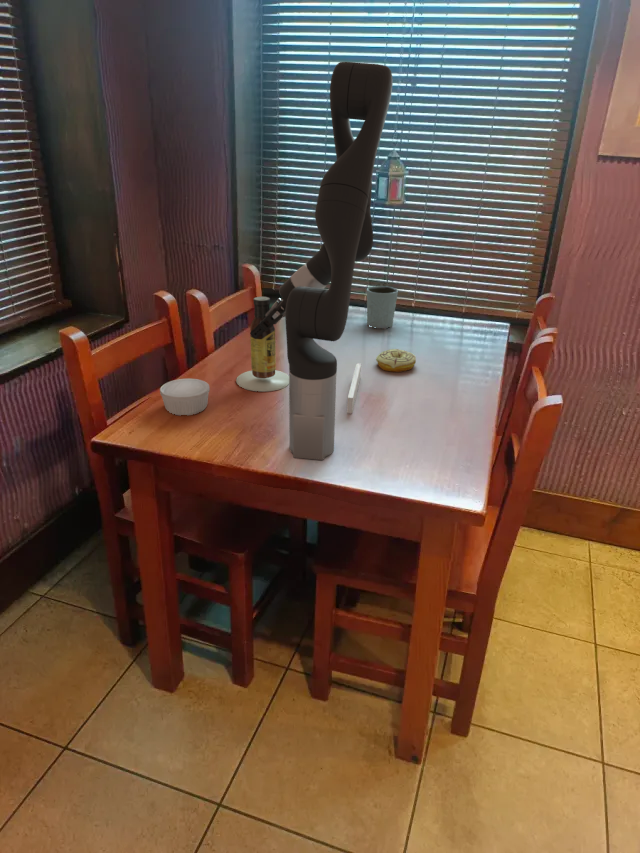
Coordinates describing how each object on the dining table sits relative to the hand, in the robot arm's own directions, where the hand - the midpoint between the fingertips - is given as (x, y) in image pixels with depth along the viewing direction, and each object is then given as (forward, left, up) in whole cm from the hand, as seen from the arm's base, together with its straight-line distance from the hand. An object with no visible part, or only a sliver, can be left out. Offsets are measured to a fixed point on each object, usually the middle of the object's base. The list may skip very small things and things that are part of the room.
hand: (256, 331), depth 149 cm
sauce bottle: (0, -2, -12) cm, 12 cm away
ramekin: (-19, +12, -13) cm, 26 cm away
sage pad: (0, -2, -13) cm, 13 cm away
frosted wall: (-4, -26, -13) cm, 29 cm away
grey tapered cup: (+54, -29, -13) cm, 63 cm away
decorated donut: (+18, -35, -14) cm, 42 cm away
